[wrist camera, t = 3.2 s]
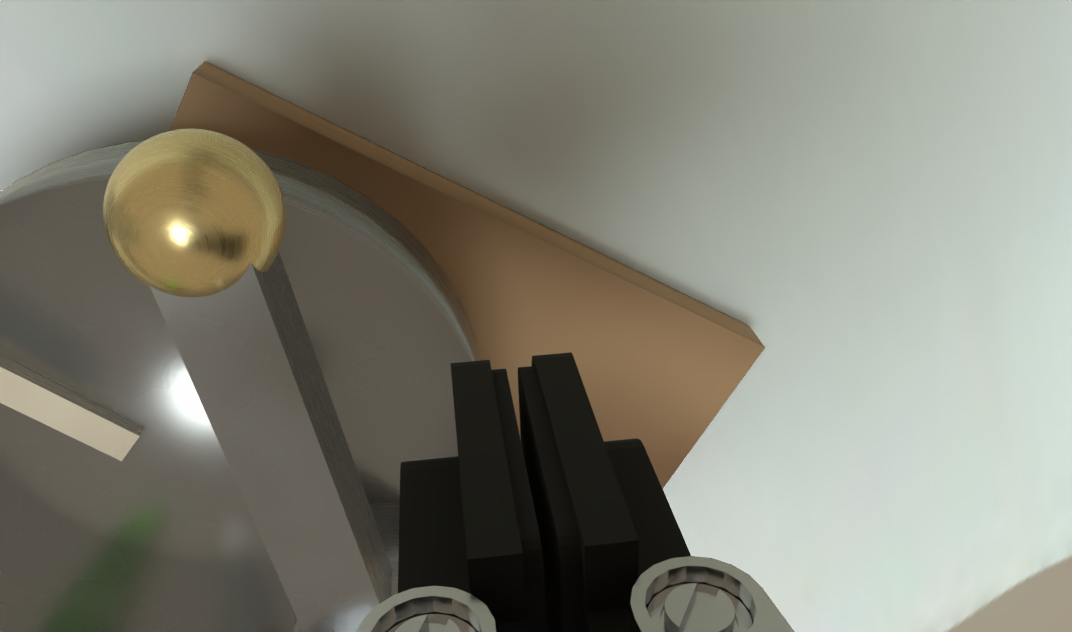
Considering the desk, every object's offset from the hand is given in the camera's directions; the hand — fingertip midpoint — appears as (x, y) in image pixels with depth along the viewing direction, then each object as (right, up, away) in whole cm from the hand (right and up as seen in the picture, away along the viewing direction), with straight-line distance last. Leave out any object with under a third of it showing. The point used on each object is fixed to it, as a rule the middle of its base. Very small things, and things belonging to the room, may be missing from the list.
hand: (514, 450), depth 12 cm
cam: (-7, +1, +8) cm, 10 cm away
